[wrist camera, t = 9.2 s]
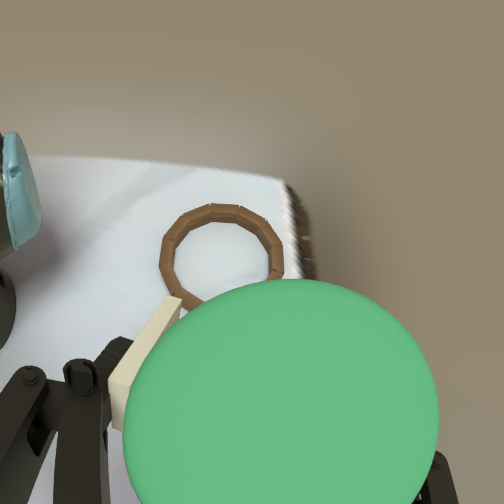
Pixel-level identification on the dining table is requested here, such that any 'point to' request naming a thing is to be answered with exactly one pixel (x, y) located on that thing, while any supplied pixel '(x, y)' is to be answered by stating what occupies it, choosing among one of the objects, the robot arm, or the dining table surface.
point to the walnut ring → (216, 214)
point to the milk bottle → (282, 403)
